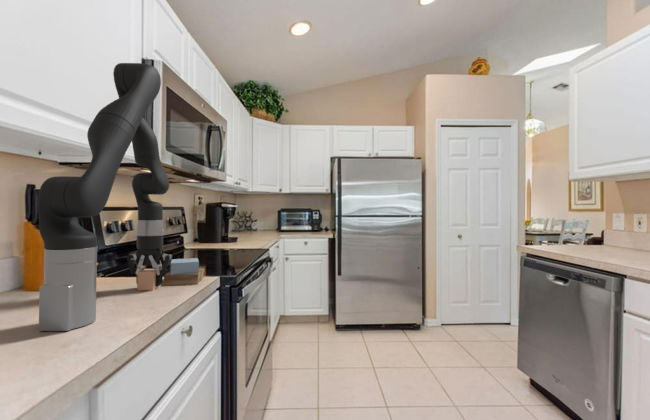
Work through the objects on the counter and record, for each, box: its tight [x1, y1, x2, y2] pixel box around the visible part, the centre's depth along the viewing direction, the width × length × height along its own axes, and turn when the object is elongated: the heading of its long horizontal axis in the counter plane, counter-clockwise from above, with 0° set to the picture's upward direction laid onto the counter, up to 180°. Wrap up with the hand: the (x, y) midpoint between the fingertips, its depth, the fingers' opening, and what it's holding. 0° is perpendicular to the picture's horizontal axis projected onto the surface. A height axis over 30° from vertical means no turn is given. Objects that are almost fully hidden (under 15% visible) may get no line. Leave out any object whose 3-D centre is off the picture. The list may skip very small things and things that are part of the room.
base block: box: [163, 267, 205, 286], centre depth 111 cm, size 11×11×4 cm
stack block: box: [136, 268, 162, 292], centre depth 100 cm, size 5×5×6 cm
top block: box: [170, 257, 200, 275], centre depth 111 cm, size 9×9×4 cm
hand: (149, 285), depth 100 cm, fingers closed on stack block, 5 cm apart
